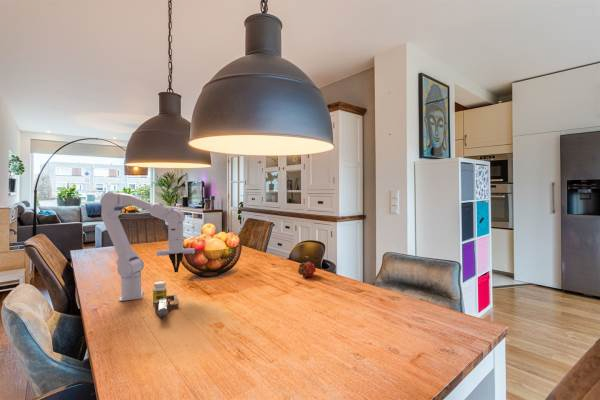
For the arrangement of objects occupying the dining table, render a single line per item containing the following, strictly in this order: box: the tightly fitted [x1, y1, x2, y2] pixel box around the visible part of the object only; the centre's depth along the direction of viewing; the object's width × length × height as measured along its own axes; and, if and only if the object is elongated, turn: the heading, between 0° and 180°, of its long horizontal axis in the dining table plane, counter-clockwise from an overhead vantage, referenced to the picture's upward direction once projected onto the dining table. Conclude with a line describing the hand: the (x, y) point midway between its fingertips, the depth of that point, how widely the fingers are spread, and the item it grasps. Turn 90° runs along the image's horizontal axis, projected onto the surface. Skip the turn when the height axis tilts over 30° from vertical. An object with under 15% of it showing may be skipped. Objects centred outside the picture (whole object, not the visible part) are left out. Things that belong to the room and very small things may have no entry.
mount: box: [154, 294, 179, 315], centre depth 116 cm, size 14×8×4 cm, turn 24°
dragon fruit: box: [297, 261, 317, 278], centre depth 157 cm, size 8×8×12 cm
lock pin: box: [156, 298, 169, 320], centre depth 106 cm, size 13×3×3 cm, turn 24°
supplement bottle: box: [152, 280, 167, 306], centre depth 118 cm, size 5×5×8 cm
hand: (176, 271), depth 126 cm, fingers closed
